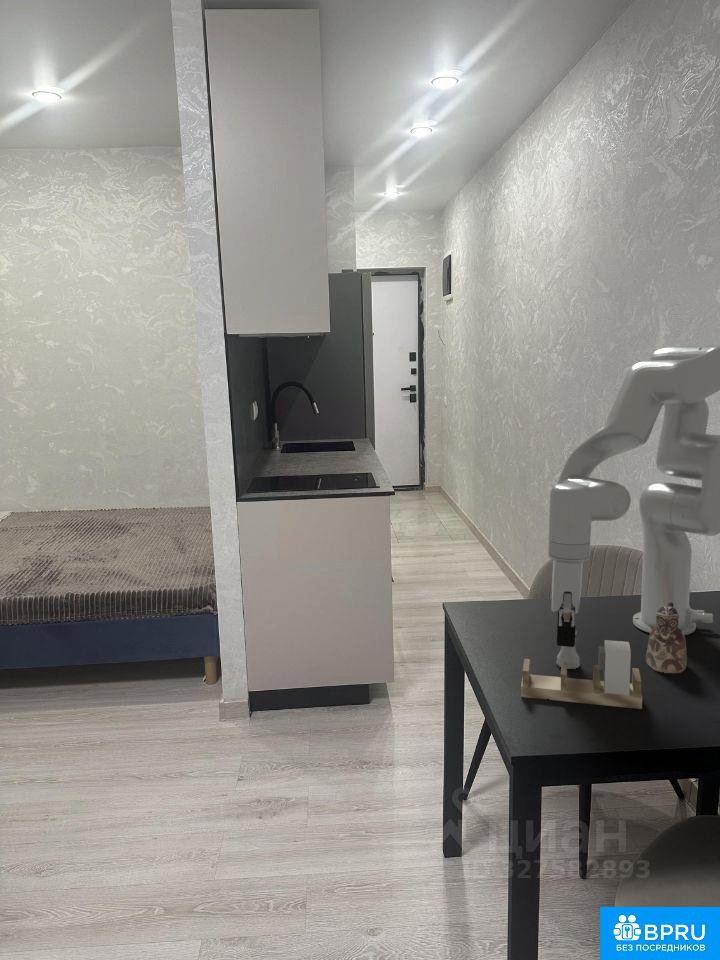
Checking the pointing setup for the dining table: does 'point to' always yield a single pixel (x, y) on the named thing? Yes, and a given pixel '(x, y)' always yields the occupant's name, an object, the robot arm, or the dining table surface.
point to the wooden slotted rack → (578, 688)
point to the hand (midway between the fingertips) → (565, 635)
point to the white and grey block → (615, 666)
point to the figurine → (667, 643)
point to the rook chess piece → (568, 656)
